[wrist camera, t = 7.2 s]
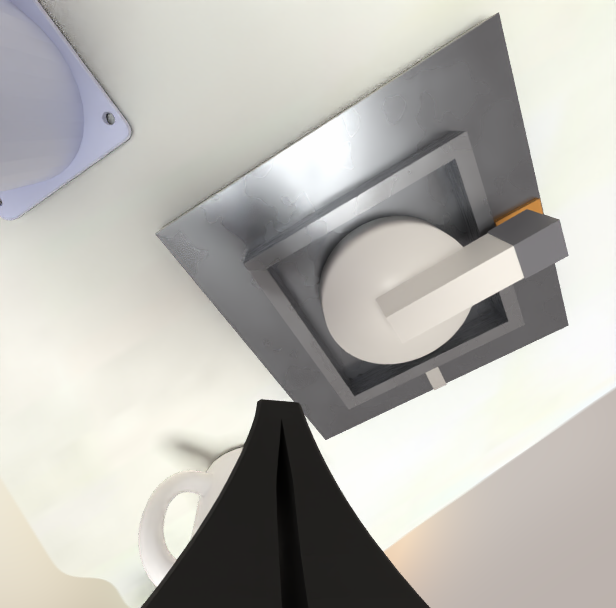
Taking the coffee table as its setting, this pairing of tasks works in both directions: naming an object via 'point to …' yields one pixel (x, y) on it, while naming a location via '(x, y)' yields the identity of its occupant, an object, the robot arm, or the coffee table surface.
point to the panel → (364, 208)
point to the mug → (152, 520)
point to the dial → (424, 280)
